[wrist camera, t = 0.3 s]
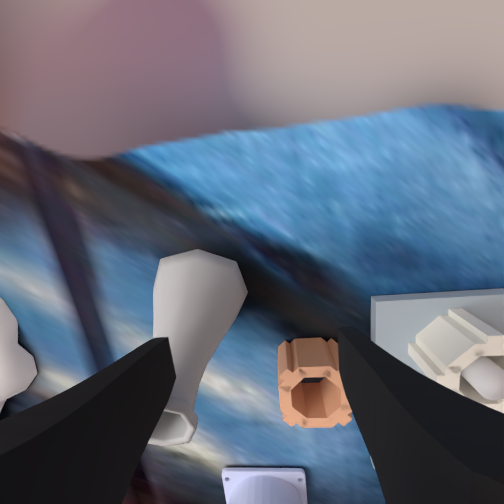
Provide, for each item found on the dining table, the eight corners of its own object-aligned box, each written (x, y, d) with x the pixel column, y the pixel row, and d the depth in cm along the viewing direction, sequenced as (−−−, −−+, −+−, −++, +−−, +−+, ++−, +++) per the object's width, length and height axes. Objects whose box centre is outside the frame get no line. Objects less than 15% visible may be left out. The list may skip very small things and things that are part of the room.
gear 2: (505, 344, 19) (556, 378, 15) (448, 387, 20) (483, 428, 17) (456, 301, 18) (497, 326, 15) (400, 348, 20) (426, 382, 16)
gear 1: (341, 390, 22) (353, 427, 19) (280, 391, 23) (282, 427, 19) (340, 336, 21) (353, 365, 17) (276, 339, 21) (276, 368, 18)
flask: (249, 249, 18) (244, 376, 9) (246, 324, 22) (241, 470, 13) (147, 245, 18) (45, 370, 9) (160, 321, 21) (96, 466, 13)
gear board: (513, 457, 22) (579, 532, 17) (370, 457, 23) (395, 527, 19) (542, 285, 19) (638, 320, 14) (371, 296, 20) (402, 331, 15)
